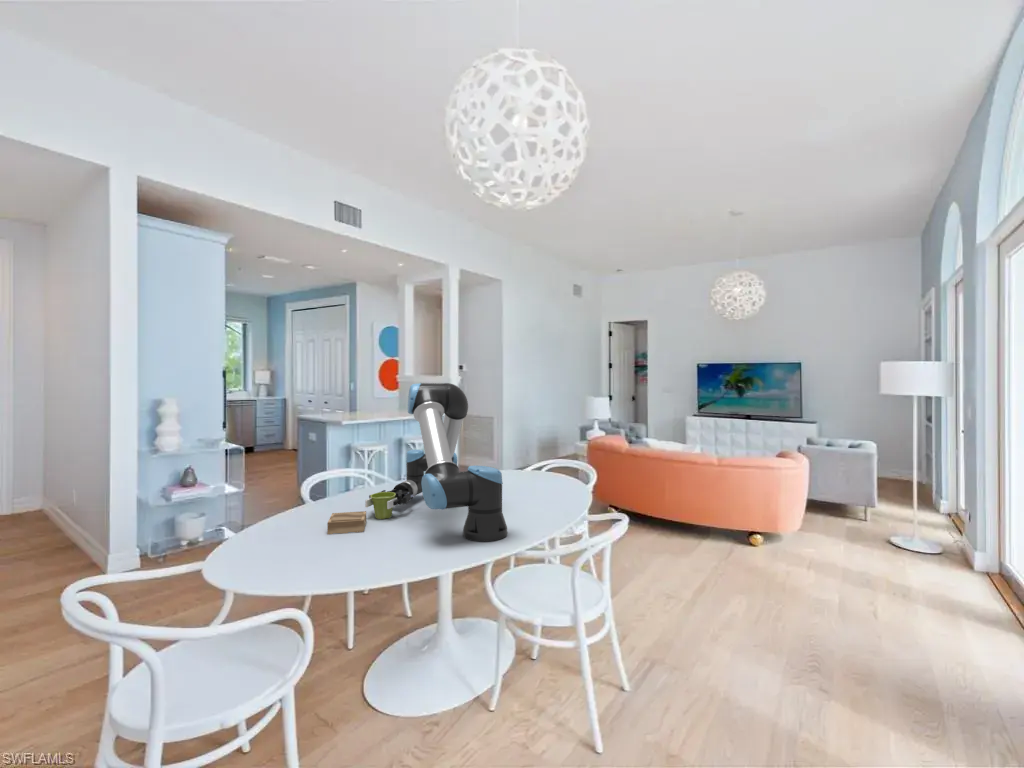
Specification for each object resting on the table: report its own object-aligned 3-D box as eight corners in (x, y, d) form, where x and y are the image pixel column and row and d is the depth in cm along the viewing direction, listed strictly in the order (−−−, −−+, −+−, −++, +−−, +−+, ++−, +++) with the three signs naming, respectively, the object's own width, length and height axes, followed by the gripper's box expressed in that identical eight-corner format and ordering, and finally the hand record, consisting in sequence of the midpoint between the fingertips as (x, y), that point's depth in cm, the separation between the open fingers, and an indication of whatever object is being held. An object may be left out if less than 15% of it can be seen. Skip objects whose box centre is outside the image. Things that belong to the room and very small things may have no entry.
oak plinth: (363, 531, 175) (363, 519, 175) (327, 534, 173) (327, 521, 173) (366, 521, 187) (366, 510, 187) (332, 524, 185) (332, 512, 184)
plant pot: (389, 521, 188) (389, 498, 187) (366, 520, 190) (366, 497, 189) (399, 514, 197) (399, 492, 197) (377, 513, 199) (377, 491, 199)
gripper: (428, 501, 208) (402, 516, 186) (382, 498, 213) (352, 512, 191) (428, 483, 208) (402, 496, 186) (382, 480, 213) (352, 493, 191)
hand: (377, 504), depth 189 cm, fingers closed on plant pot, 8 cm apart
